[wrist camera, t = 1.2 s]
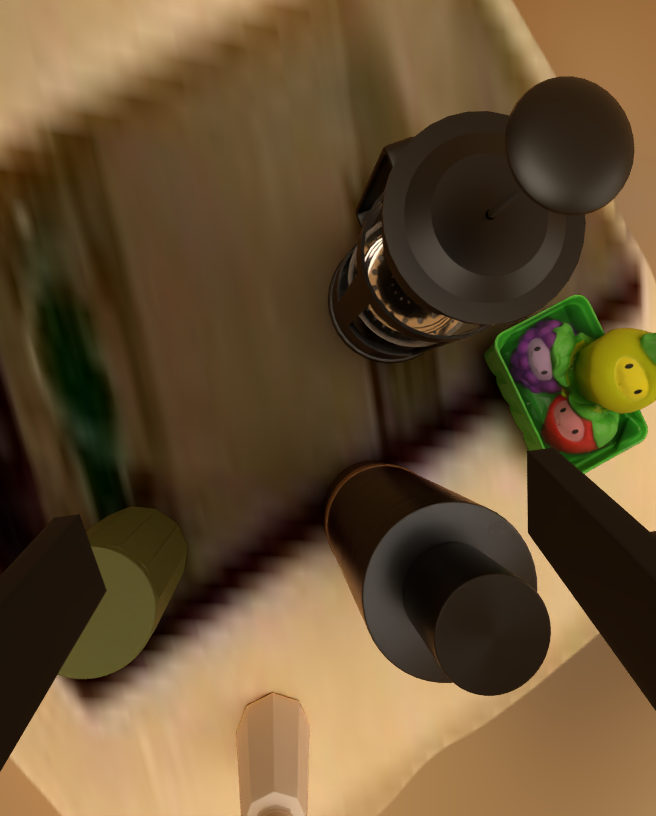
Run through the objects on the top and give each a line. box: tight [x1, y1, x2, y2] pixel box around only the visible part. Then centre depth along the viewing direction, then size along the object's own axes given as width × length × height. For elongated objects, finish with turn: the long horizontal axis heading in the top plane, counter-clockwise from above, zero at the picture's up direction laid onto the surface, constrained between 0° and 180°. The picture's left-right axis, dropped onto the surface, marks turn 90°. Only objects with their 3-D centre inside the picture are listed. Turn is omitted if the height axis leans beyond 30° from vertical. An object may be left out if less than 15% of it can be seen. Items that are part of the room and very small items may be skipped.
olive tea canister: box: [58, 506, 188, 679], centre depth 30 cm, size 7×7×10 cm
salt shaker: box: [236, 693, 310, 816], centre depth 31 cm, size 5×5×11 cm
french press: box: [328, 77, 634, 363], centre depth 26 cm, size 12×9×23 cm
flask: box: [322, 460, 551, 696], centre depth 27 cm, size 8×8×20 cm
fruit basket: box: [484, 295, 656, 474], centre depth 33 cm, size 11×9×11 cm
